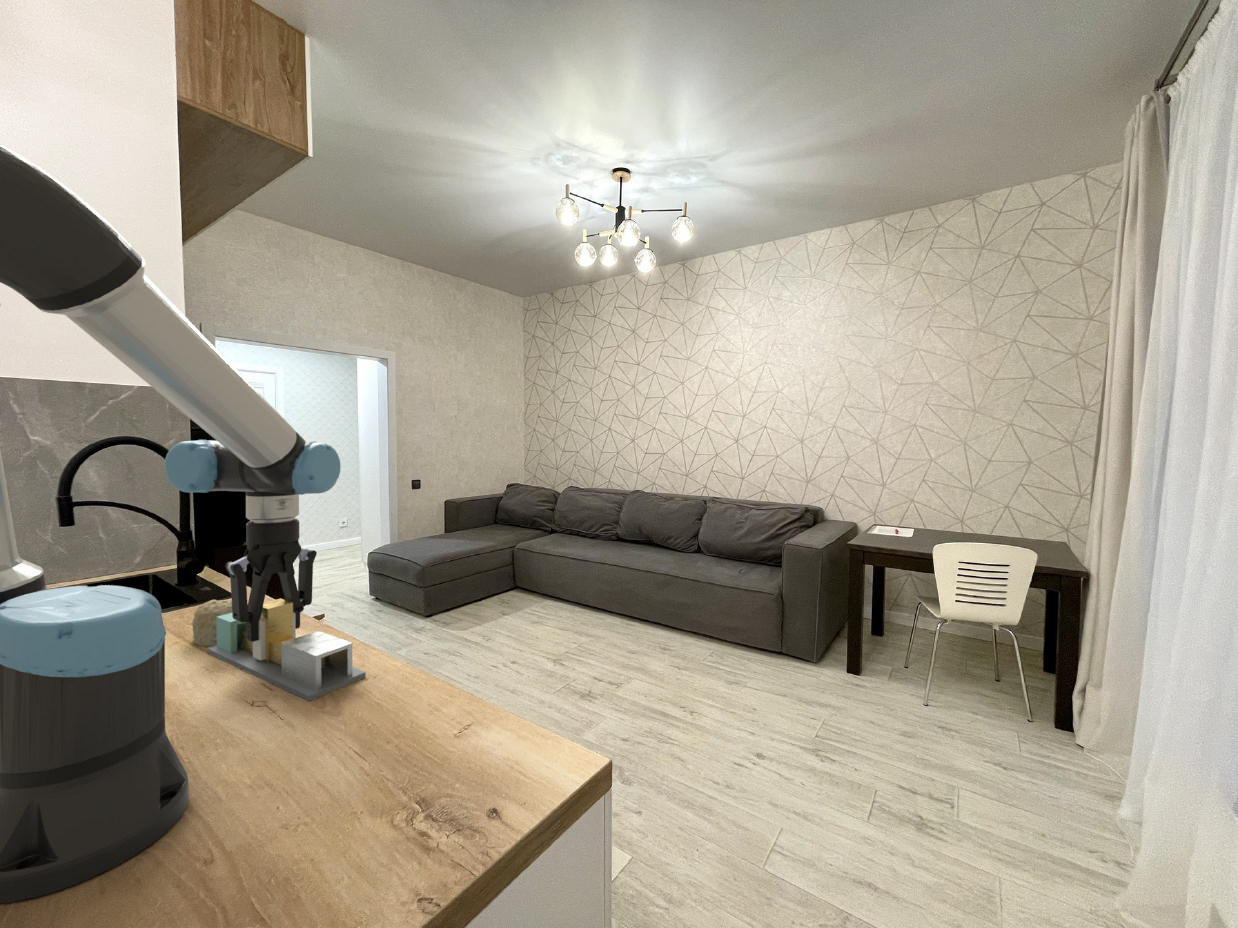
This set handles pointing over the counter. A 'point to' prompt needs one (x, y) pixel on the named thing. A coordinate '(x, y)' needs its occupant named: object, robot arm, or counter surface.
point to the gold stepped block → (275, 629)
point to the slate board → (274, 675)
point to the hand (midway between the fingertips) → (274, 652)
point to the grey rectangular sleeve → (315, 657)
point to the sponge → (209, 621)
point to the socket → (229, 632)
